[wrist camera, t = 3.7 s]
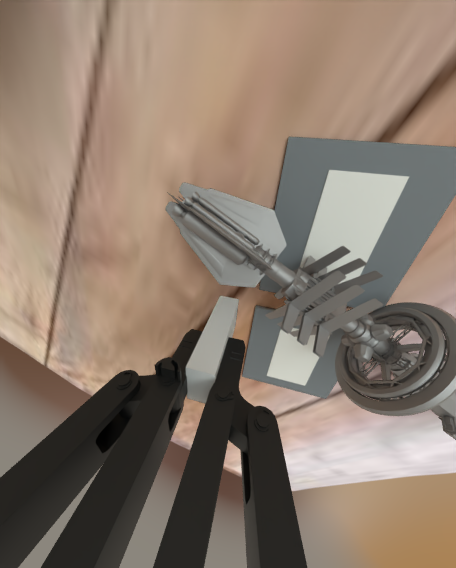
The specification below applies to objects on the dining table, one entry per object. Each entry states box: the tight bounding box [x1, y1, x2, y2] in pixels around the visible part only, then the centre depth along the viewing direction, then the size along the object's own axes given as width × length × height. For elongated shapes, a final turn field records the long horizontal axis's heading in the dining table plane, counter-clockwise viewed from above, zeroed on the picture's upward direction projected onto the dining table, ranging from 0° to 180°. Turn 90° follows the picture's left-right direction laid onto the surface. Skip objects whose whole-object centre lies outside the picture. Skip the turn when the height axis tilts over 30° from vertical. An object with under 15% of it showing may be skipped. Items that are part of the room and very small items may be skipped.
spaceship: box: [166, 182, 456, 440], centre depth 13 cm, size 8×35×8 cm
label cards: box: [242, 137, 456, 399], centre depth 17 cm, size 24×10×1 cm, turn 175°
